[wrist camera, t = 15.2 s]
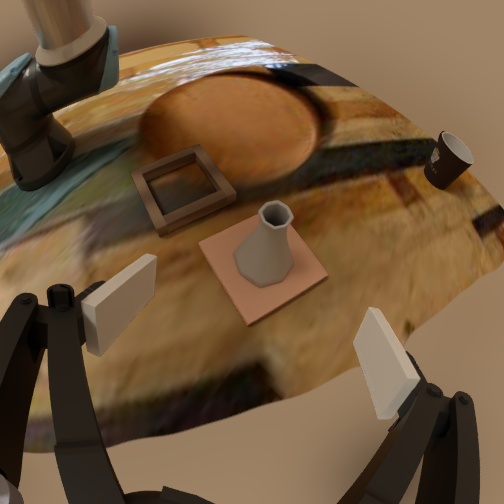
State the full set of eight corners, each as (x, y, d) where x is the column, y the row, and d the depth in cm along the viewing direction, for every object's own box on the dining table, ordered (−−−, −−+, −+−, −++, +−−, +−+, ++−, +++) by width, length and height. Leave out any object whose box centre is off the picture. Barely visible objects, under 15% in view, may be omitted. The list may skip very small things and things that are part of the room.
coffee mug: (447, 200, 45) (474, 170, 36) (416, 176, 47) (440, 142, 38) (452, 173, 50) (473, 145, 41) (424, 151, 52) (444, 121, 43)
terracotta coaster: (198, 247, 36) (197, 242, 35) (274, 210, 39) (275, 205, 38) (247, 326, 32) (248, 324, 30) (325, 277, 35) (328, 274, 34)
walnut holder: (133, 180, 40) (130, 172, 38) (200, 152, 43) (199, 143, 42) (159, 237, 36) (156, 229, 34) (236, 201, 39) (236, 192, 38)
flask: (268, 225, 37) (281, 174, 28) (303, 266, 34) (329, 224, 25) (222, 252, 34) (221, 204, 25) (257, 298, 32) (269, 263, 23)
